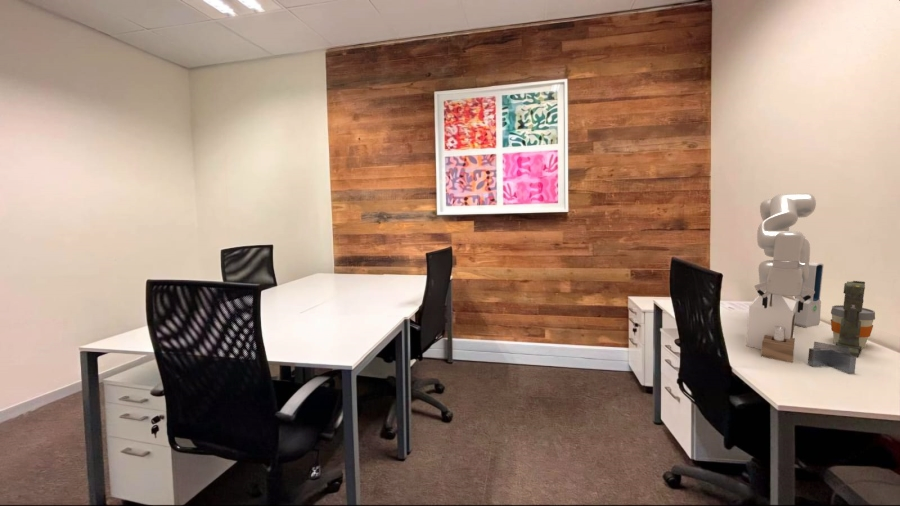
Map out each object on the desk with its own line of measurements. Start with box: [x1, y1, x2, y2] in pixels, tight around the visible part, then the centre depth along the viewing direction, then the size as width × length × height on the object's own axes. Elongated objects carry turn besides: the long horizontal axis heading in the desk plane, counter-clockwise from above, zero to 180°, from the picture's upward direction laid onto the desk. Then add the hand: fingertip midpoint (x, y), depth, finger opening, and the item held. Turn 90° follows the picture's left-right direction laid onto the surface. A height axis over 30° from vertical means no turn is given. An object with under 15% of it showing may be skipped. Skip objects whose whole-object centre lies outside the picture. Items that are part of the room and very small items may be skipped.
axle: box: [774, 326, 785, 342], centre depth 149 cm, size 3×3×11 cm
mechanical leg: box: [835, 280, 866, 358], centre depth 148 cm, size 14×7×30 cm, turn 134°
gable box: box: [745, 289, 797, 350], centre depth 160 cm, size 22×13×28 cm, turn 135°
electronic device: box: [794, 261, 824, 328], centre depth 183 cm, size 12×8×30 cm, turn 114°
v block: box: [807, 341, 857, 374], centre depth 139 cm, size 12×12×6 cm
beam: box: [760, 335, 796, 363], centre depth 149 cm, size 12×9×6 cm
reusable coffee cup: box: [830, 304, 876, 349], centre depth 158 cm, size 12×13×15 cm
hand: (781, 309), depth 147 cm, fingers open, 9 cm apart
